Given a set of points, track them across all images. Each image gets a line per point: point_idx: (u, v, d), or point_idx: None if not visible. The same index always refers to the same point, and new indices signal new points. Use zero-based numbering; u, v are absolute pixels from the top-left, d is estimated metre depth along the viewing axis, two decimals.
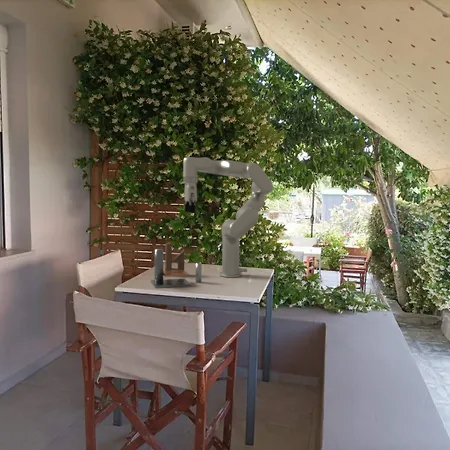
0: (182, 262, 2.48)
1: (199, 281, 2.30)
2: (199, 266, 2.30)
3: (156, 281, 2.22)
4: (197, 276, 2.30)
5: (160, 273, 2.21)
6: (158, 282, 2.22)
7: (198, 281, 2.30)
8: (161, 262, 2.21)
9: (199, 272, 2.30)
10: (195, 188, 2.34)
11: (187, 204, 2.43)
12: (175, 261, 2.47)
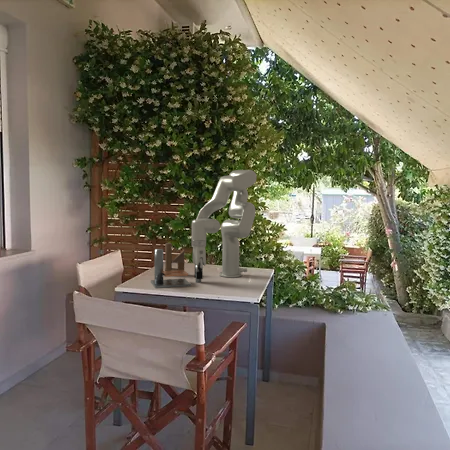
0: (182, 262, 2.48)
1: (199, 281, 2.30)
2: None
3: (156, 281, 2.22)
4: None
5: (160, 273, 2.21)
6: (158, 282, 2.22)
7: (198, 281, 2.30)
8: (161, 262, 2.21)
9: None
10: (204, 252, 2.26)
11: None
12: (175, 261, 2.47)
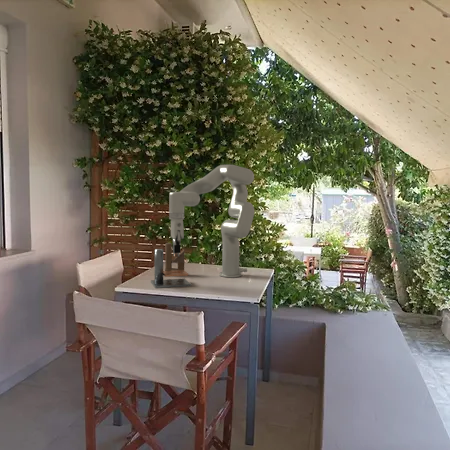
0: (182, 262, 2.48)
1: (177, 255, 2.24)
2: None
3: (156, 281, 2.22)
4: None
5: (160, 273, 2.21)
6: (158, 282, 2.22)
7: (176, 255, 2.24)
8: (161, 262, 2.21)
9: None
10: (182, 225, 2.20)
11: None
12: (175, 261, 2.47)
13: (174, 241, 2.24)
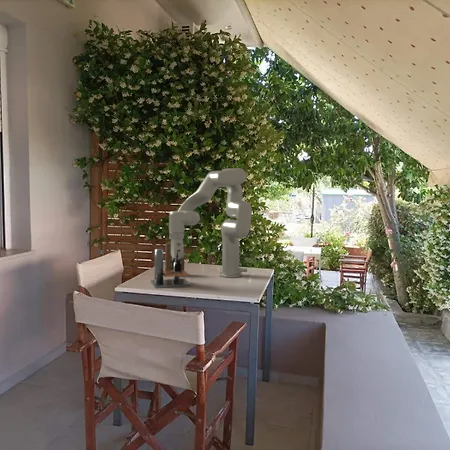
0: (182, 262, 2.48)
1: (177, 281, 2.25)
2: None
3: (156, 281, 2.22)
4: (175, 276, 2.25)
5: (160, 273, 2.21)
6: (158, 282, 2.22)
7: (176, 281, 2.25)
8: (161, 262, 2.21)
9: (177, 272, 2.25)
10: (182, 244, 2.21)
11: (174, 261, 2.29)
12: None
13: (174, 267, 2.25)
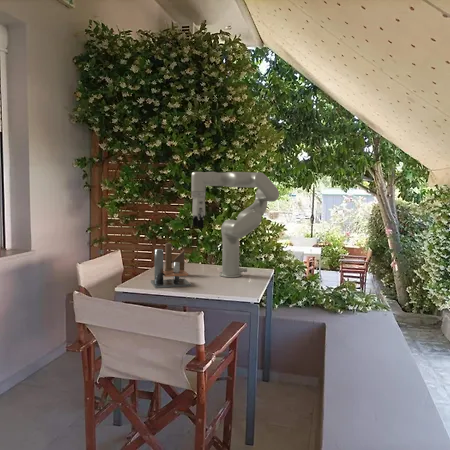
0: (182, 262, 2.48)
1: (177, 281, 2.25)
2: (177, 265, 2.25)
3: (156, 281, 2.22)
4: (175, 276, 2.25)
5: (160, 273, 2.21)
6: (158, 282, 2.22)
7: (176, 281, 2.25)
8: (161, 262, 2.21)
9: (177, 272, 2.25)
10: (203, 203, 2.33)
11: (195, 218, 2.42)
12: (175, 261, 2.47)
13: (174, 267, 2.25)
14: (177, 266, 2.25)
